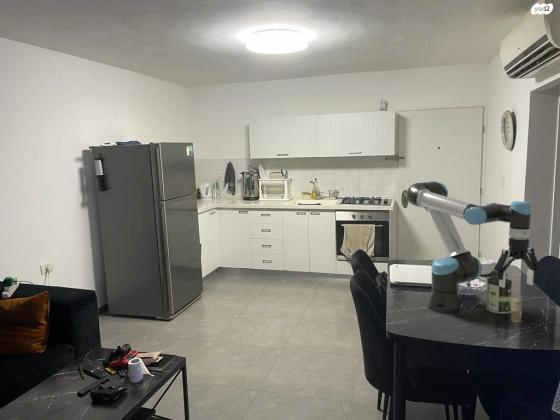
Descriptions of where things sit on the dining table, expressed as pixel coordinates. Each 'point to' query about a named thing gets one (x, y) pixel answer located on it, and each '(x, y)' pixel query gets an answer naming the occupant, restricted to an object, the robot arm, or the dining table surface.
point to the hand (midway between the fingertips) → (515, 285)
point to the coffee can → (499, 296)
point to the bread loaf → (516, 309)
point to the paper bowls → (486, 265)
